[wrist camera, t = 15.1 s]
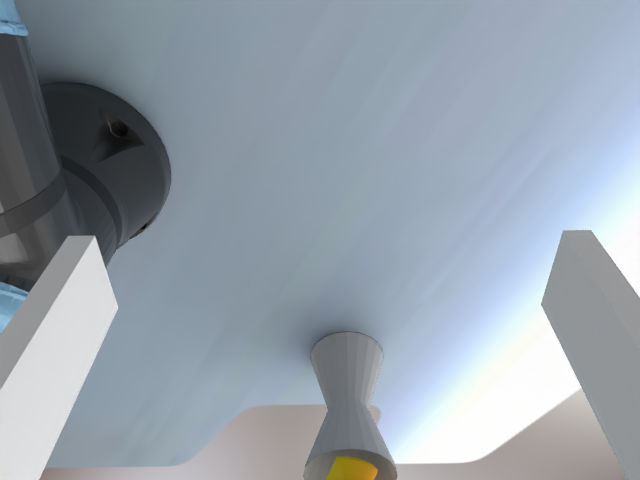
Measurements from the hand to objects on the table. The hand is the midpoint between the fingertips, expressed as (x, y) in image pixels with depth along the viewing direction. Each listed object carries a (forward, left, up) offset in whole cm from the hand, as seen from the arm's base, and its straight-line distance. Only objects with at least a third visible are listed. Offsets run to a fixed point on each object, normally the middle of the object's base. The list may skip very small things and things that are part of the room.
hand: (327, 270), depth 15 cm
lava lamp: (+3, -38, -32) cm, 50 cm away
